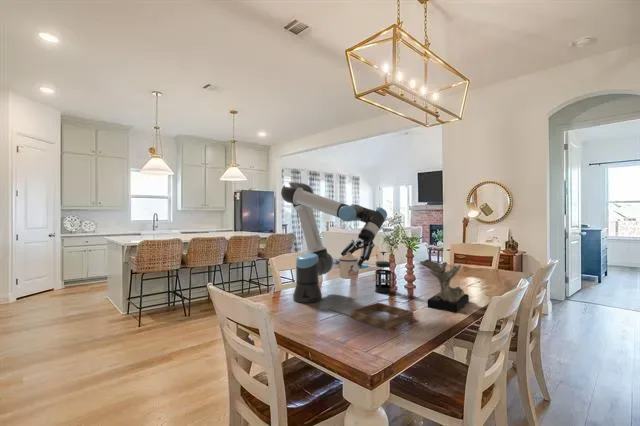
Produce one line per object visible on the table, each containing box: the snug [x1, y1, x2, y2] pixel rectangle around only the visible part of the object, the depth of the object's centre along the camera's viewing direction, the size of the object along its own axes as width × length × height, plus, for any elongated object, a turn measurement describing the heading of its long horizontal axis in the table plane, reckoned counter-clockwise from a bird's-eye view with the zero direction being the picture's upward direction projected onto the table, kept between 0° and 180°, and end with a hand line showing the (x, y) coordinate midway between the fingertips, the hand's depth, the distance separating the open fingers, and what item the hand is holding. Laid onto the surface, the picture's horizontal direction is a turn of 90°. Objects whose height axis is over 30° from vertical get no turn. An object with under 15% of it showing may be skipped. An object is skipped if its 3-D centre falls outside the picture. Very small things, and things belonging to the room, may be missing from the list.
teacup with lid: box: [338, 252, 359, 280], centre depth 153 cm, size 12×9×12 cm
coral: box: [419, 259, 470, 313], centre depth 161 cm, size 25×20×22 cm
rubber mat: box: [327, 301, 366, 317], centre depth 153 cm, size 15×15×1 cm
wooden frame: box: [350, 302, 414, 330], centre depth 141 cm, size 19×19×3 cm
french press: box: [374, 251, 395, 295], centre depth 185 cm, size 12×9×23 cm
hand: (346, 269), depth 151 cm, fingers closed on teacup with lid, 9 cm apart
